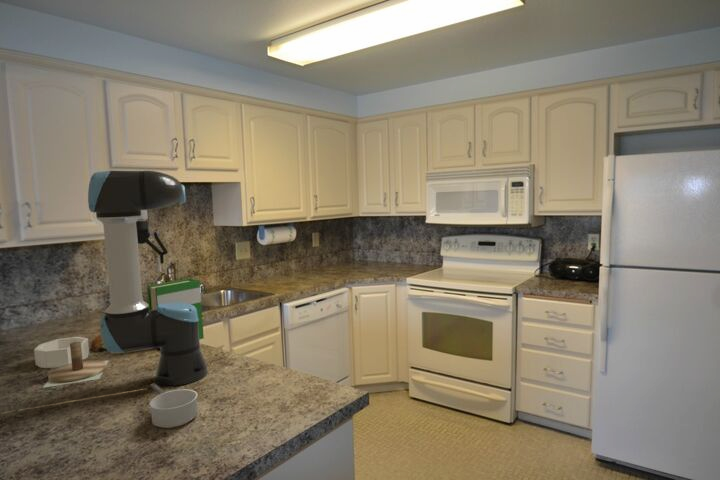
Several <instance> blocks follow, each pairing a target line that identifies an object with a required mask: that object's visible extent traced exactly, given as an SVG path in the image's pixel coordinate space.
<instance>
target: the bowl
mask: <svg viewBox="0 0 720 480" xmlns="http://www.w3.org/2000/svg"><path fill="white" fill-rule="evenodd" d="M73 342H81V349H82V360H83V361H85V360H86V359H87V358H88V357H89V354H90V347H89V338H87V337H82V336H72V337H64V338H58V339H53V340H50V341H46V342H43V343H40V344H38V346H36V347H35V348H34V349H33V351H34V360H35V361H34V363H35V366H38V367H39V368H42V369H54V368H55V369H57V368H59V367H62V366H65V365H68V364H72V360H71V350H70V344H71V343H73Z"/></svg>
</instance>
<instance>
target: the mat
mask: <svg viewBox="0 0 720 480" xmlns="http://www.w3.org/2000/svg"><path fill="white" fill-rule="evenodd" d="M102 361H103V362H105V363H106V366H107V365H108V363H109V359H108V360H102ZM103 373H104V371H103V372H102V373H100V374H98V375H96V376H93V377H90V378H87V379H84V380H80V381H75V382H68V383H54V382H51V381H49V379H48V380H47V382H45V384H44V386H43V387H42V388H51V387H57V386H65V385H70V384H77V383H82V382H90V381H96V380H100V379H101V376H102V375H103Z"/></svg>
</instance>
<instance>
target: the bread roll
mask: <svg viewBox="0 0 720 480" xmlns="http://www.w3.org/2000/svg"><path fill="white" fill-rule="evenodd" d="M90 349H91V351H92V352H94V353H96V352H109V351H108V350H107V349H106V347H105V345H104V343H103V339H102V335H101V333H100V334H98V335H97V336H96V337H95V338H94V339H93V340H92V342H91V344H90Z"/></svg>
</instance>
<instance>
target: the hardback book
mask: <svg viewBox="0 0 720 480" xmlns="http://www.w3.org/2000/svg"><path fill="white" fill-rule="evenodd" d="M146 291H147V304H149V310H156V308H157V306H158V305H159V304H162V303H173V302H177V303H187V304H191V305H193V306H195V307H196V309H197V316H198V319H199V321H198V330H199V340H203V339H204V324H203V323H204V322H203V311H202V310H203V307H202V297H201V296H202V295H201V282H200V279H195V278H184V279H179V280H174V281H168V282H162V283H156V284H151V285H147V286H146Z"/></svg>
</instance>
